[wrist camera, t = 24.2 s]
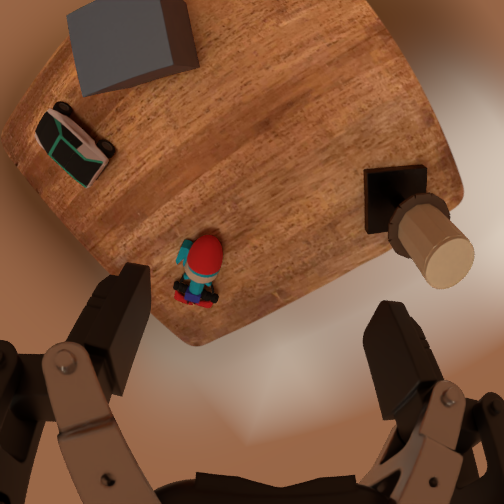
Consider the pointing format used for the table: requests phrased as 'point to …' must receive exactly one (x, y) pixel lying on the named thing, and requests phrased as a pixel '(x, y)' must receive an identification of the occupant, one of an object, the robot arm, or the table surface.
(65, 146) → the toy car
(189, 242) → the toy figure
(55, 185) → the table surface
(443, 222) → the hat
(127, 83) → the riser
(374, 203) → the hat stand
